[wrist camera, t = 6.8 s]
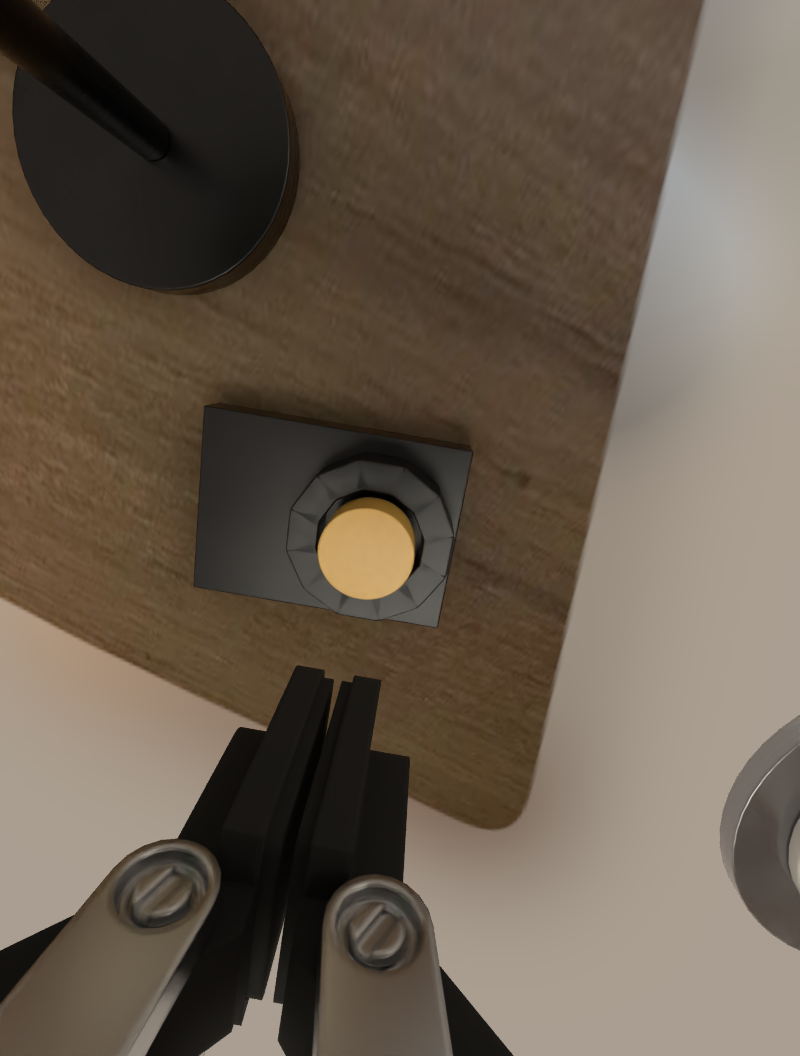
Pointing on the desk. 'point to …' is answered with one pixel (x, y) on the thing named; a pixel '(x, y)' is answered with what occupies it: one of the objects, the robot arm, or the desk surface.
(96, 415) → the desk surface
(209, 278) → the desk lamp
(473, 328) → the desk surface
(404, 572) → the button
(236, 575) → the button base
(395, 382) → the desk surface
